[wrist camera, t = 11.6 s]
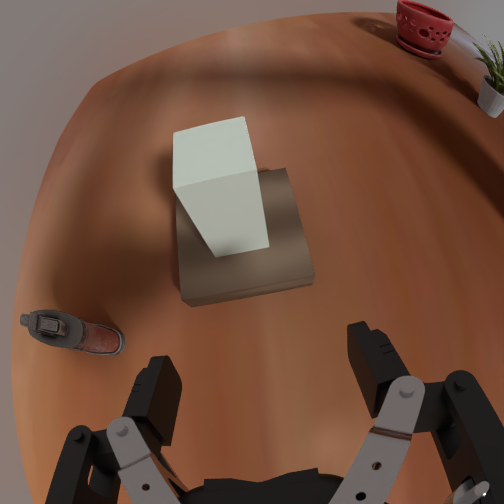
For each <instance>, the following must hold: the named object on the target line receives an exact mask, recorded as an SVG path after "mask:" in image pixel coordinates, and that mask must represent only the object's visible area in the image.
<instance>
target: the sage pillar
mask: <svg viewBox="0 0 504 504" xmlns="http://www.w3.org/2000/svg"><path fill="white" fill-rule="evenodd" d="M173 189H174V191H175V193H176V194H177V196H178V198H179V199H180V201H181V203H182V204H183V206H184V208H185V209H186V211H187V213H188V214H189V216H190V218H191V219H192V221H193V222H194V224H195V226H196V227H197V229H198V231H199V232H200V234H201V235H202V237H203V239H204V240H205V242H206V243H207V245H208V247H209V248H210V250H211V251H212V253H213V255H214V256H215V258H216V257H221V256H226V255H231V254H236V253H242V252H247V251H252V250H257V249H262V248H267V247H269V241H268V235H267V229H266V222H265V216H264V210H263V204H262V198H261V192H260V186H259V180H258V174H257V168H256V164H255V160H254V155H253V151H252V147H251V143H250V138H249V134H248V130H247V126H246V122H245V117H244V116H243V117H238V118H233V119H228V120H223V121H219V122H215V123H210V124H206V125H202V126H198V127H194V128H190V129H187V130H183V131H179V132H176V133H174V135H173Z"/></svg>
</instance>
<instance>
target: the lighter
mask: <svg viewBox="0 0 504 504" xmlns="http://www.w3.org/2000/svg"><path fill="white" fill-rule="evenodd" d="M20 325H22V326H25V327H28V329H29V333H30V335H31V336H32V337H34V338H35V339H37V340H39V341H40V342H43V343H45V344H48V345H50V346H55V347H61V348H65V349H70V350H76V351H85V352H88V353H91V354H98V355H118V354H120V353H121V352H122V351H123V350H124V348H125V338H124V335H123V334H122V333H121V332H120V331H117V330H115V329H112V328H109V327H106V326H102V325H98V324H91V323H87V322H84V321H83V320H82V319H80V318H77V317H75V316H73V315H70V314H68V313H65V312H61V311H57V310H38V311H34V312H30V314H25V313H22V314H21V316H20Z"/></svg>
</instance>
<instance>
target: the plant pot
mask: <svg viewBox="0 0 504 504" xmlns="http://www.w3.org/2000/svg"><path fill="white" fill-rule="evenodd" d="M405 16H406V17H407V20H406V19H405ZM396 20H397V27H398V31H399V34H397V36H396V39H397V41H398V43H399V44H400V45H401V46H402V47H404V48H405V49H406V50H408V51H410V52H412V53H414V54H416V55H418V56H421V57H424V58H427V59H438V58H440V57H442V55H443V53H442V51H441V49H442V48H443V47H444V46H445V45H446V43H447V42H448V40H449V37H450V35H451V32H452V28H453V20H452V19H451V18H449V17H448V16H446V15H445V14H443V13H441V12H439V11H437V10H435V9H433V8H431V7H428V6H426V5H422V4H420V3H416V2H413V1H408V0H398V3H397V15H396Z"/></svg>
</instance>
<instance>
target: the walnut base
mask: <svg viewBox="0 0 504 504" xmlns="http://www.w3.org/2000/svg"><path fill="white" fill-rule="evenodd" d="M257 174H258V180H259V186H260V192H261V198H262V204H263V210H264V216H265V222H266V229H267V235H268V241H269V247H267V248H262V249H257V250H252V251H247V252H242V253H236V254H231V255H226V256H221V257H216V258H215V256H214V255H213V253H212V251H211V250H210V248H209V247H208V245H207V243H206V242H205V240H204V239H203V237H202V235H201V234H200V232H199V231H198V229H197V227H196V226H195V224H194V222H193V221H192V219H191V218H190V216H189V214H188V213H187V211H186V209H185V208H184V206H183V204H182V203H181V201H180V199H179V198H178V196H177V194H176V193H175V195H176V228H177V248H178V265H179V279H180V291H181V300H182V301H183V302H185V303H186V304H188V305H189V306H191V307H196V306H202V305H208V304H214V303H219V302H225V301H231V300H236V299H242V298H247V297H253V296H258V295H263V294H268V293H274V292H279V291H284V290H289V289H293V288H298V287H303V286H308V285H312V284H313V280H314V276H315V273H314V269H313V265H312V261H311V257H310V253H309V250H308V246H307V242H306V238H305V234H304V231H303V227H302V223H301V220H300V216H299V213H298V209H297V205H296V202H295V198H294V195H293V192H292V188H291V185H290V181H289V178H288V175H287V171H286V168H282V169H276V170H271V171H265V172H260V173H257Z"/></svg>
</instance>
